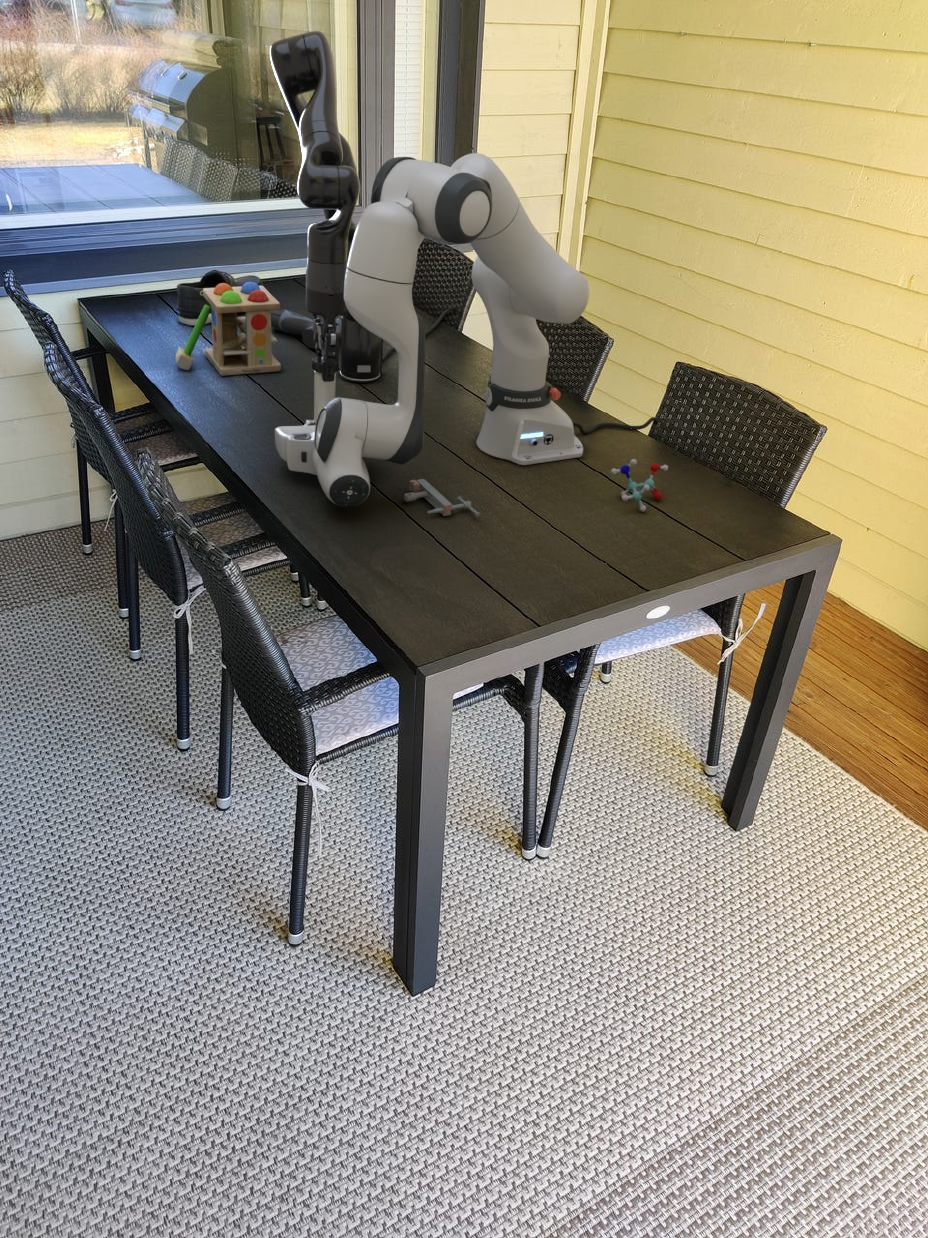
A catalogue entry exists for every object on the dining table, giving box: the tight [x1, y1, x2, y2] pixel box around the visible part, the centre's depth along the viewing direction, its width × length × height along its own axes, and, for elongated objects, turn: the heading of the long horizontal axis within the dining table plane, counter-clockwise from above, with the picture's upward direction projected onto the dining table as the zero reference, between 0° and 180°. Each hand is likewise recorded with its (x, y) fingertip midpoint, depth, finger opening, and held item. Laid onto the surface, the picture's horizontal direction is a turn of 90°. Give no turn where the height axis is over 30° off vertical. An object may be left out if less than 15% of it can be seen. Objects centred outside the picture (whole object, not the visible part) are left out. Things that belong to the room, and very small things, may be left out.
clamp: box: [403, 478, 481, 518], centre depth 180 cm, size 15×2×10 cm
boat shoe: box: [175, 269, 265, 326], centre depth 261 cm, size 13×33×10 cm, turn 147°
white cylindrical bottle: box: [313, 370, 337, 425], centre depth 190 cm, size 4×4×19 cm
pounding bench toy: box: [174, 282, 282, 377], centre depth 225 cm, size 23×14×18 cm, turn 116°
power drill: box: [271, 308, 341, 349], centre depth 252 cm, size 5×19×20 cm
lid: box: [311, 355, 340, 373], centre depth 185 cm, size 5×5×2 cm
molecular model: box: [610, 458, 669, 513], centre depth 187 cm, size 12×10×10 cm
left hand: (325, 375), depth 186 cm, fingers closed on lid, 4 cm apart
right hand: (323, 422), depth 192 cm, fingers closed on white cylindrical bottle, 4 cm apart
